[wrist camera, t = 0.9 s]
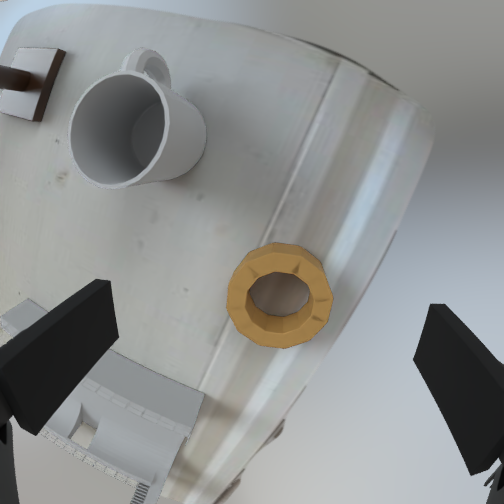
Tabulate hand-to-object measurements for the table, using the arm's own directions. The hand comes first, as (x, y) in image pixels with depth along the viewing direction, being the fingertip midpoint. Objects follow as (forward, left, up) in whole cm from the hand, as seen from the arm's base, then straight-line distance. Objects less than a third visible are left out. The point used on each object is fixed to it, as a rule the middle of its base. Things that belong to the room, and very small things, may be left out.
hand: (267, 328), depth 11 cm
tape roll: (+1, +4, -14) cm, 15 cm away
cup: (+4, -13, -15) cm, 20 cm away
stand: (+17, -27, -14) cm, 35 cm away
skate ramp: (+30, +12, -15) cm, 36 cm away
